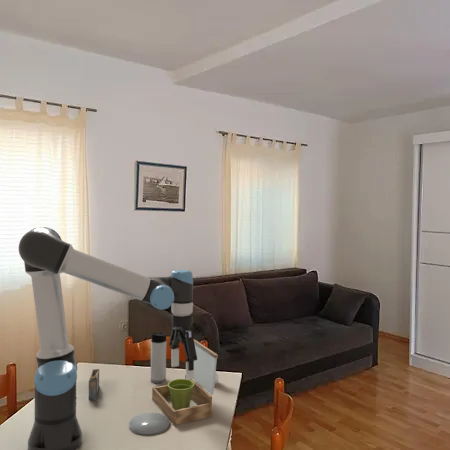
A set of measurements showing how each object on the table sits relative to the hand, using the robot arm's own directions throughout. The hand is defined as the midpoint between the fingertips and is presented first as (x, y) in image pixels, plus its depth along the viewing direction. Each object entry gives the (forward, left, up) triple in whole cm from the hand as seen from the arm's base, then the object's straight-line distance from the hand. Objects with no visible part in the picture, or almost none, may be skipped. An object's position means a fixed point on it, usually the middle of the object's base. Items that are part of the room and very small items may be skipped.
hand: (182, 372), depth 157 cm
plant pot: (0, 0, -13) cm, 13 cm away
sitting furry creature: (+19, +16, -13) cm, 28 cm away
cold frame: (0, 0, -13) cm, 13 cm away
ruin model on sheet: (-25, +26, -13) cm, 39 cm away
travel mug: (+1, +27, -13) cm, 30 cm away
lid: (+7, 0, +2) cm, 7 cm away
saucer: (-14, -7, -13) cm, 20 cm away
